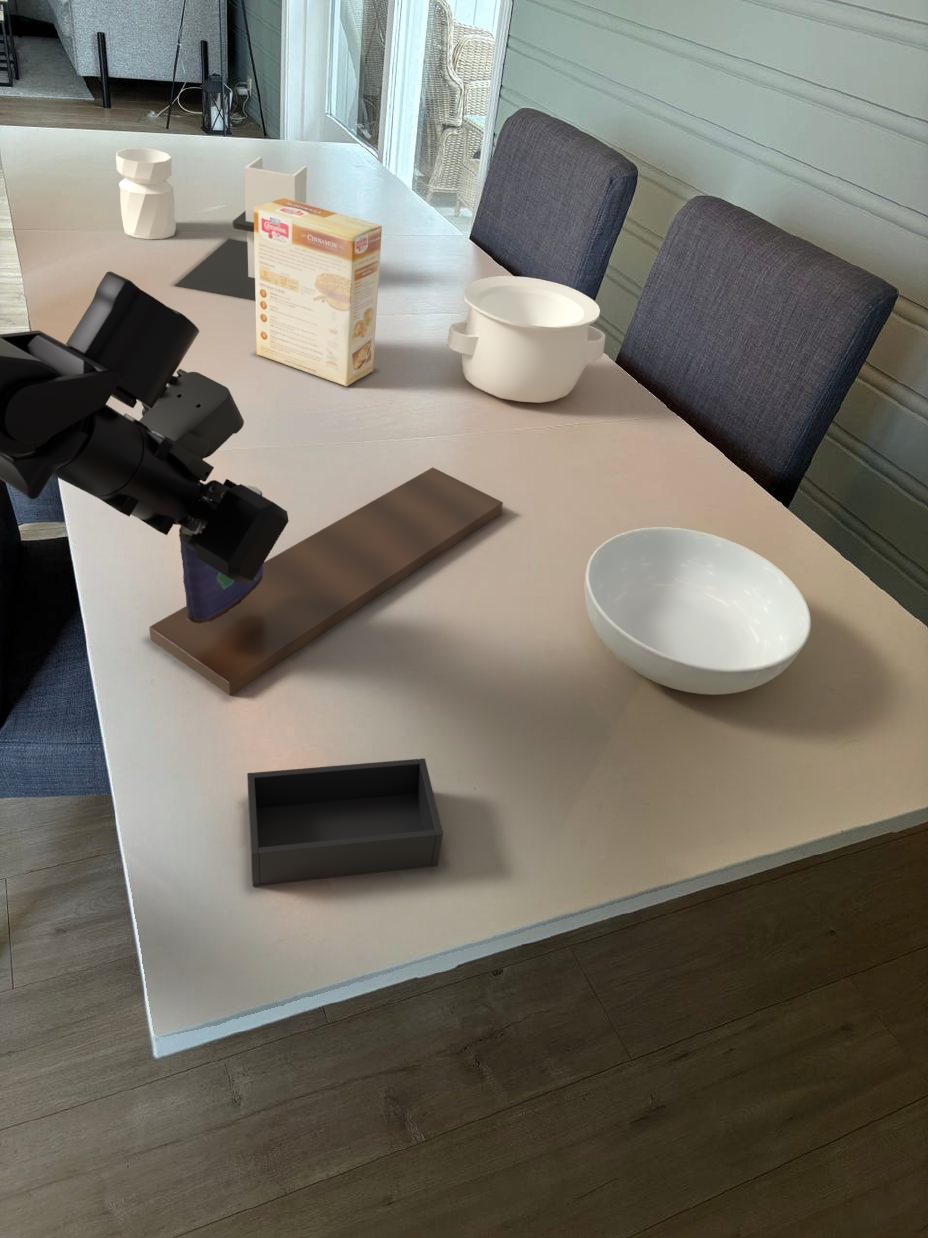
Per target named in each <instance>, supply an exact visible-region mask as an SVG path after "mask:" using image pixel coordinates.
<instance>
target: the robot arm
mask: <svg viewBox="0 0 928 1238" xmlns="http://www.w3.org/2000/svg"><path fill="white" fill-rule="evenodd" d="M199 333H200V329H199V328H198V327H197V326H196V324H195V323H194V322H192V320H191V319H189V318H188V317H187V316H186V315H184V314H183V313H182V312H179V311H177V310H175V309H173V308H171V307H170V306H168V305H165V304H164V303H163V302H161V301H160V300H158V299H157V298H155V297H154V296H152V295H151V294H149V293H147V292H146V291H145V290H142V289H141V288H139V286H137V285H136V284H135V283H134V282H133V281H131V280H130V279H128V278H127V277H123V276H122V275H120V274H117V273H115V272H113V271H112V270H111V271H106V273H105V274H104V276H103V278H102V279H101V281H100V282H99V284H98V286H97V288H96V290H95V294H94V296H93V299H92V300H91V302H90V304H89V306H88V307H87V309H86V310H85V312H84V313H83V315H82V317H81V318H80V320H79V321H78V324H77V325H76V326H75V329H74V330H73V331H72V333H71V335H70V336H69V338H68V340H67V342H66V343H65V342H64V343H63V342H62V341H60V340H58V339H56V338H54V337H52V336H51V335H49V334H47V333H45V332H43V331H41V330H38V329H36V330H29V331H18V332H12V333H11V332H10V333H0V480H1V481H2V482H4V483H6V484H7V485H9V486H10V487H12V488H13V489H15V490H16V491H18V492H19V493H21V494H22V495H24V496H25V497H27V498H28V499H29V500H37V499H38V498H39V497H40V495H41V494H42V492H43V491H44V489H45V487H46V486H47V484H48V482H49V481H50V480H51V478H52V476H54V477H56V478H58V479H59V480H62V481H64V482H65V483H67V484H69V485H72V486H73V487H75V488H77V489H80V490H81V491H84V492H85V493H87V494H88V495H91V496H93V497H95V498H97V499H99V500H101V501H102V502H103V503H105V504H106V505H108V506H110V507H111V508H112V509H114V510H116V511H117V512H119V513H121V514H123V515H125V516H127V517H131V516H132V517H135V518H136V519H139V520H140V521H141V522H143V523H145V524H146V525H148V526H149V527H151V528H152V529H154V530H156V531H157V532H159V533H161V534H163V535H165V536H168V535H169V534H170V533H169V532H170V531H171V529H172V528H173V526H175V525H176V526H177V525H178V526H180V527H181V526H182V527H184V528H185V529H187V530H189V531H190V532H192V533H193V535H192V536H191V538H190V540H189V541H188V543H187V544H186V547H187V548H188V549H190V550H192V551H193V552H195V553H196V558H198V559H200V560H201V561H203V562H204V563H206V564H208V565H209V566H211V567H212V568H214V569H215V570H217V571H219V572H220V573H222V574H223V575H225V576H227V577H228V578H230V579H232V580H234V581H236V582H238V583H240V584H243V585H244V584H246V583H249V582H252V581H253V580H254V578H255V576H256V575H257V573H258V571H259V570H260V568H261V566H262V565H263V563H264V562H265V561H267V558H268V556H269V555H270V553H271V551H272V550H273V549H274V547H275V545H276V543H277V541H278V540H279V538H280V536H281V535H282V533H283V531H284V530H285V528H286V526H287V525H288V523H289V522H290V521H289V515H288V511H287V510H286V509H284V508H283V507H281V506H280V505H278V504H277V503H275V502H273V501H272V500H270V499H268V498H266V497H265V496H263V495H262V496H261V495H259V494H258V493H256V492H254V491H252V490H251V489H249V488H247V487H245V486H246V485H244V484H242V483H240V484H237V483H236V482H234V481H232V480H230V479H228V478H226V479H225V480H224V481H223V483H222V482H220V481H219V480H216V479H212V480H209V481H208V482H206V481H207V480H208V479H209V477H210V475H211V474H212V473H213V471H214V469H215V466H213V465H211V464H210V463H209V462H207V461H206V460H204V459H207V458H209V457H211V456H212V455H213V454H214V453H215V452H216V451H217V450H219V448H221V446H223V445H224V444H225V443H226V442H227V441H228V440H229V439H230V438H231V437H232V436H233V435H235V434H236V435H237V434H238V433H239V432H240V431H241V429H243V427H244V425H245V421H244V418H243V416H242V414H241V412H240V409H239V408H238V405H237V404H236V402H235V399H234V398H233V395H232V393H231V391H230V389H229V387H227V386H225V385H223V384H221V383H219V382H217V381H216V380H214V379H211V378H210V377H208V376H206V375H204V374H202V373H200V372H197V371H189V372H188V371H185V370H184V369H181V368H179V366H180V364H181V362H182V361H183V359H184V358H185V356H186V354H187V353H188V351H189V350H190V348H191V347H192V345H193V344H194V341H195V340H196V338H197V336H198V335H199ZM178 368H179V369H178ZM175 373H176V374H177V375H174V374H175ZM111 397H113V398H114V399H115V400H117V401H119V402H120V403H122V404H124V405H126V406H128V407H129V408H131V409H134V408H135V406H136V405H137V403H138V402H140V403H141V406H142V407H143V408H142V410H141V416H142V417H141V418H140V419H139V420H138V419H137V418H135V417H133V416H131V415H129V414H128V413H124V414H122V413H121V412H119V411H117V410H115V409H114V408H113V407H111V406H110V405H108V404H107V403H108V401H109V400H110V399H111ZM204 482H206V483H204Z"/></svg>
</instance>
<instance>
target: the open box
mask: <svg viewBox="0 0 928 1238" xmlns="http://www.w3.org/2000/svg"><path fill="white" fill-rule="evenodd" d="M246 775H247V776H246V779H247V801H248V802H247V803H248V805H247V806H248V823H249V842H250V843H249V844H250V846H249V847H250V863H251V883H252V885H251V887H260V886H261V887H262V886H270V885H279V884H287V883H288V884H289V883H297V882H305V881H315V880H322V879H323V880H325V879H332V878H341V877H349V876H359V875H367V874H376V873H377V874H378V873H385V872H394V871H403V870H413V869H421V868H422V869H423V868H429V867H430V868H431V867H438V866H439V859H440V853H441V848H442V842H443V837H444V832H443V828H442V824H441V820H440V815H439V812H438V807H437V803H436V799H435V795H434V789H433V786H432V783H431V782H432V781H431V778H430V774H429V770H428V765H427V761H426V758H423V757H422V758H411V759H400V760H388V761H377V762H365V763H354V764H353V763H352V764H351V763H350V764H340V765H328V766H316V767H305V768H293V769H283V770H282V769H279V770H269V771H257V772H247V773H246Z"/></svg>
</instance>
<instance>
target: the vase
mask: <svg viewBox="0 0 928 1238" xmlns="http://www.w3.org/2000/svg"><path fill="white" fill-rule="evenodd" d="M115 164H116V171H117V172H118V173H119V174H120V175H121V176H122V177H124V178H123V179H121V181H120V182H118V187H119V192H120V193H119V197H120V198H119V200H120V214H121V220H122V227H123V230H124V233H125V234H126V235H129V236H130V237H133V238H137V239H143V240H164V239H167V238H171V237H173V236H174V235H175V234H176V229H177V225H176V218H175V193H174V192H175V191H174V186H173V185H172V184H171V183H170V182H169V181H168V179H169V178H170V177H171V176H173V175H172V173H173V172H172V171H173V169H172V167H173V165H172V156H171V155H170V154H169V153H167V152H164V151H162V150H159V149H153V148H144V147H143V148H142V147H131V148H130V147H129V148H128V147H127V148H124V149H119V150H116V153H115Z"/></svg>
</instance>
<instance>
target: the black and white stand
mask: <svg viewBox="0 0 928 1238" xmlns="http://www.w3.org/2000/svg"><path fill="white" fill-rule="evenodd" d="M243 168H244V173H243V174H244V204H245V205H244V206H245V210H244V211H243V212H242V213H241V214H239V215H238V216H236V218H234V219H233V220H232V228H233V229H234V230H239V231H245V232H246V234H247V235H246V237H247V238H246V239H247V241H244V240H239V239H233V238H228V239H226V241H225V242H223V243H221V245H220V246H218V247H217V248H216V249H215V250H214V251H212V252H211V254H209V255H208V256H207V257H206V258H205V259H203V260H202V261H201V262H200V263H199V264H198V265H196V266H195V267H194V268H193V269H192V270H190V272H188V274H187V273H186V275H185V276H184V277H182V279H180V280H179V281H178V282H177V283H175V285H174V287H179V288H186V289H190V290H191V289H192V290H197V291H201V292H202V291H203V292H207V293H208V292H209V293H213V294H219V295H224V296H230V297H236V298H241V299H247V300H251V301H256V296H255V250H254V207H257V206H260V205H263V204H267V203H270V202H272V201H275V200H279V199H283V198H288V199H291V200H294V201H297V202H301V203H305V204H307V178H308V177H307V176H308V174H307V173H308V172H307V171H308V169H307V168H308V167H307V165H302V166H301V167H300V169H298V170H297V171H295V172H294V173H293V174H289V173H285V172H284V173H283V172H278V171H273V170H267V169H263V156H258V157H257V158H256V159H254V160H253V161H251V162H250V163H248V164H247V165H245V166H244V167H243Z"/></svg>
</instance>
